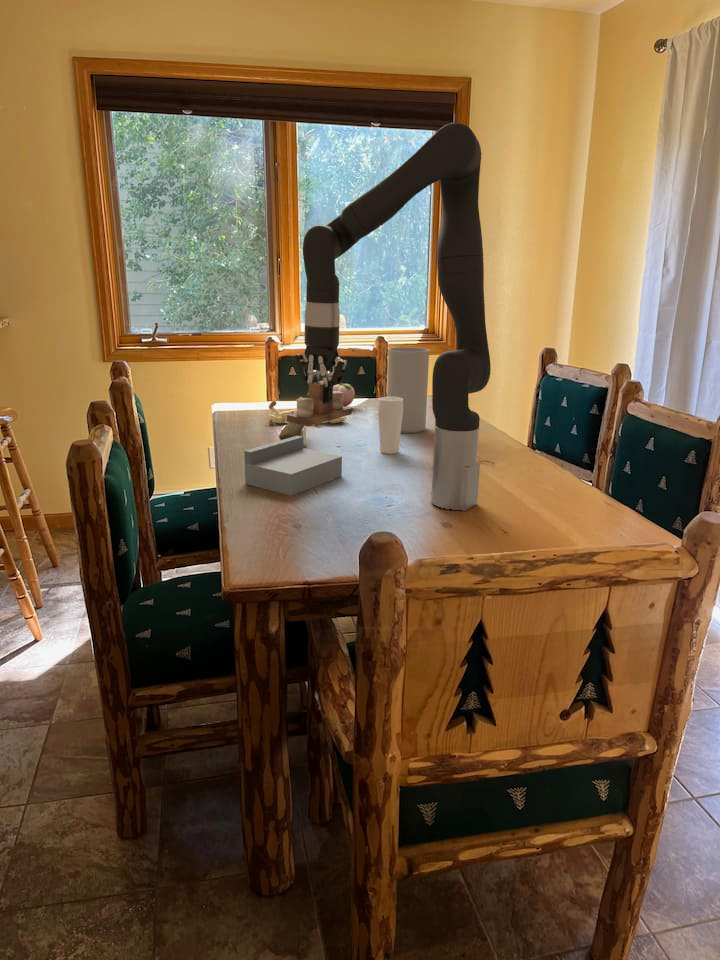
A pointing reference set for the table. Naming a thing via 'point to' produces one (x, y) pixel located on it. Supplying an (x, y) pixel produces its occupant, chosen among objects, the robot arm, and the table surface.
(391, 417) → the drinking glass
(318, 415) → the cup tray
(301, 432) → the wood carving
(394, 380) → the cylinder vase
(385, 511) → the table surface
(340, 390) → the decorative fruit
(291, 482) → the grey stepped block
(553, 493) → the table surface
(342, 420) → the cat figure
